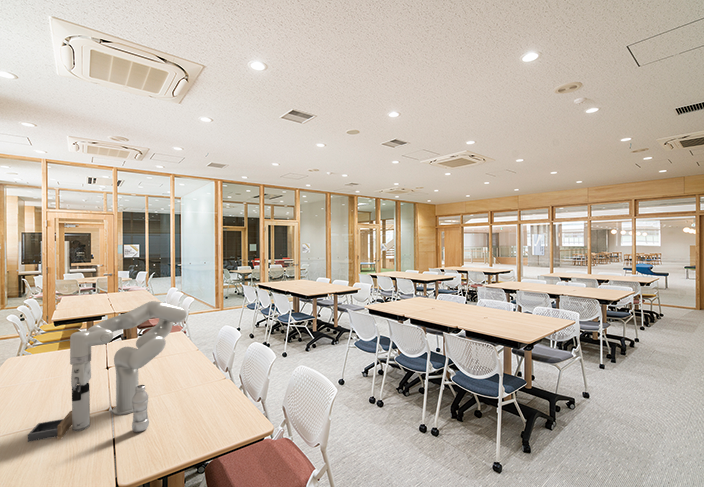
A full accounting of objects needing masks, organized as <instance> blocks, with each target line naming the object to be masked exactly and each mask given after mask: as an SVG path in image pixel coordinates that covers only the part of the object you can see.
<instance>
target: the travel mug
mask: <svg viewBox="0 0 704 487" xmlns="http://www.w3.org/2000/svg"><path fill="white" fill-rule="evenodd" d="M77 388H79V387H77ZM80 391H81V400H79V401H72V400H71V411H72V426H71V427H72V428H71V431H73V432H80V431H83V430H84V431H85V430H86V429H88V428H89V427H90V426H91V424H90V423H91V422H90V421H91V420H90V418H91V416H90V415H91V414H90V412H91V410H90V409H91V407H90V404H91V403H90V402H91V401H90V400H91V398H90V397H91V395H90V383H89V382H87V383H86V384H85V385H84V386H83V385H81V390H80Z"/></svg>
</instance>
